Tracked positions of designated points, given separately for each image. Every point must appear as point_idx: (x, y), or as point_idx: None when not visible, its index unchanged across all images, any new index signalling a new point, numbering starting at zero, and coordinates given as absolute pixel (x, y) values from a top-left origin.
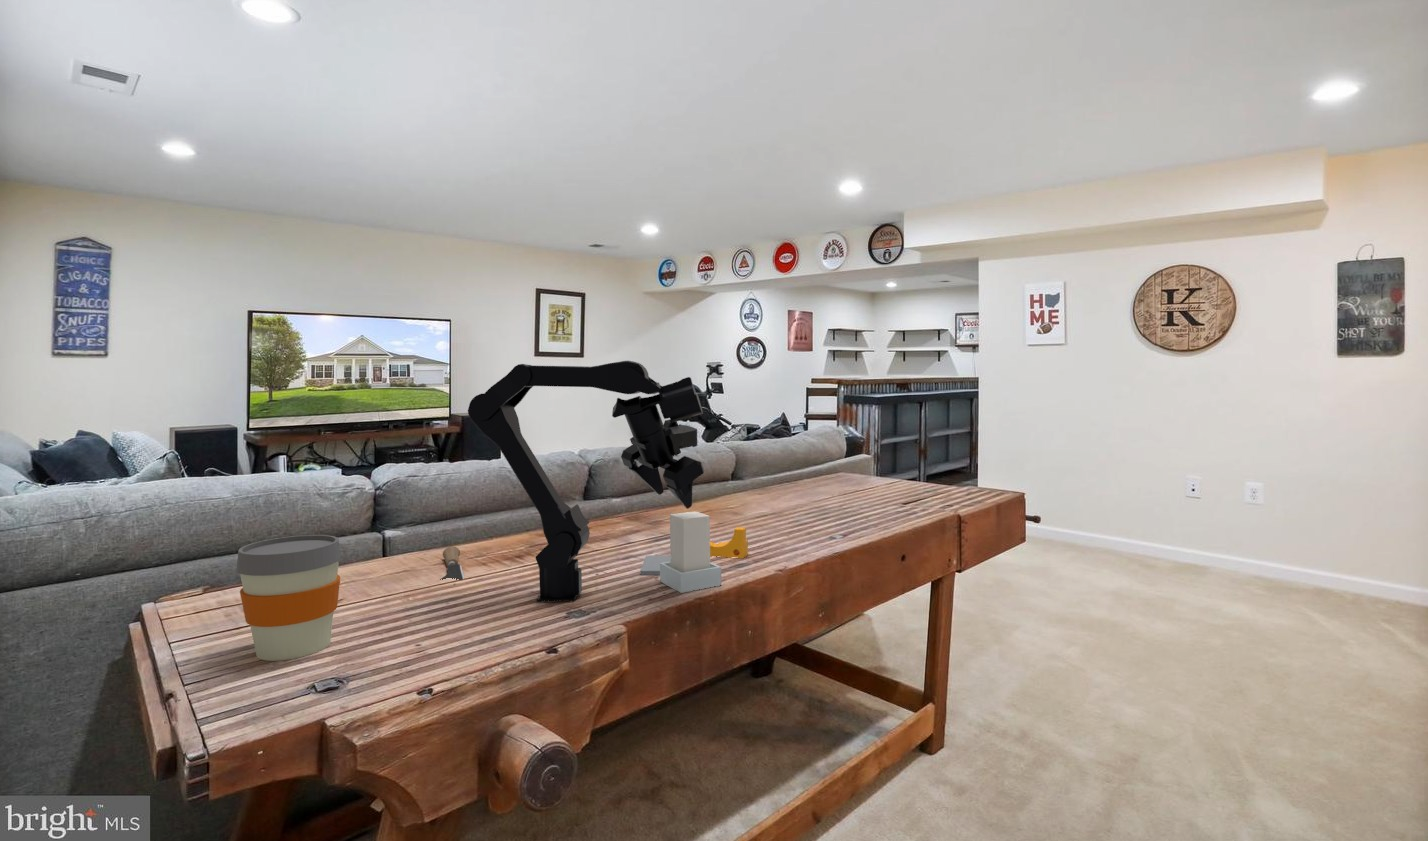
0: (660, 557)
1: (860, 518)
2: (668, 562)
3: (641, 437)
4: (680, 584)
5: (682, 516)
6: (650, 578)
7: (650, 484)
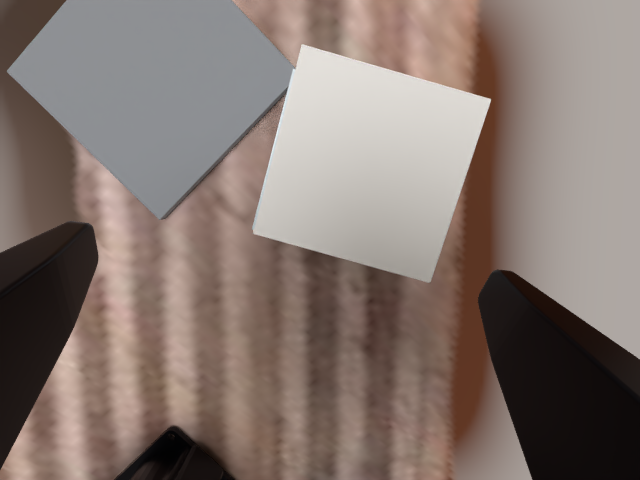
0: (64, 51)
1: None
2: None
3: None
4: None
5: (364, 229)
6: (215, 220)
7: (22, 410)
